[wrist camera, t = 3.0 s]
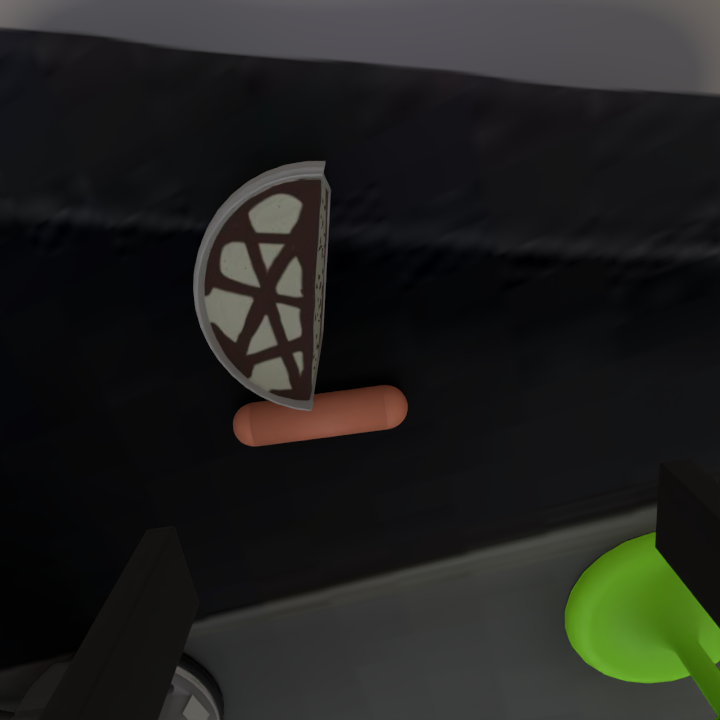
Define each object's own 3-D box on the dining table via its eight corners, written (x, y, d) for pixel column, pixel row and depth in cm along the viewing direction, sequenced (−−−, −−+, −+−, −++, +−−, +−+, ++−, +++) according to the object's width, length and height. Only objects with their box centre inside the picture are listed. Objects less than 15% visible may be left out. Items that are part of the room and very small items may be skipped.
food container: (230, 154, 31) (176, 148, 22) (332, 162, 32) (323, 160, 22) (231, 348, 36) (187, 413, 26) (322, 355, 36) (310, 420, 26)
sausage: (242, 435, 38) (234, 457, 35) (233, 398, 37) (223, 417, 34) (407, 414, 37) (411, 434, 35) (402, 375, 36) (407, 392, 34)
